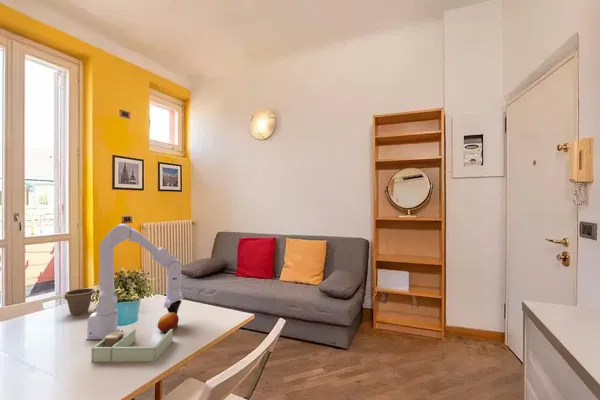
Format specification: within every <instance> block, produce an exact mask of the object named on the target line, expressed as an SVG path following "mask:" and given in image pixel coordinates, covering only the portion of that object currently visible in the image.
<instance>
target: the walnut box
mask: <svg viewBox="0 0 600 400" xmlns="http://www.w3.org/2000/svg"><path fill="white" fill-rule="evenodd" d="M123 337H124V332H123V331H121V332H111V333H110V334H108V335H107V336H106V337H105V338H104V339H105V346H104V347H112V346H113V345H114V344H116V343H117V342H118V341H119V340H121V339H122V338H123Z"/></svg>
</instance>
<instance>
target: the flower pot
mask: <svg viewBox="0 0 600 400" xmlns="http://www.w3.org/2000/svg"><path fill="white" fill-rule="evenodd" d="M95 292H96V291H95V289H94V288H89V287H88V288H78V289H73V290H69V291H67V292H64V300H66V302H67V305H68V309H69V314H70V315H73V316H77V315H78V316H79V315H83V314H86V313H88V311H89V309H90V305H91V302H92V299H91V295H92V294H93V293H94V294H95Z"/></svg>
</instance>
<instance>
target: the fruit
mask: <svg viewBox="0 0 600 400" xmlns="http://www.w3.org/2000/svg"><path fill="white" fill-rule="evenodd" d="M179 319H180V318H179V315H178V313H177V314H176V313H174V312H170V313H169V312H168V313H166V314H164V315H161V316H160V318H159V319H158V321H157V329H158V330H159V331H160V332H163V333H168V331H169V330H170V329H173V330H174V329H178V324H179Z"/></svg>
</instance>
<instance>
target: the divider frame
mask: <svg viewBox="0 0 600 400" xmlns="http://www.w3.org/2000/svg"><path fill="white" fill-rule="evenodd" d="M119 331H120V328H117V330H115V331H114V332H119ZM136 331H137V329H136V328H133V329H132V330H131V331H129V332H128V333H126V334H125V335H123V338H122V339H121V340H119V341H118V342H117V343H116V344H114V345H113V346H112V347H104V346H105V339H101V340H100V341H99V342H98V343H96V344H95V345H93V346H92V347H91V363H93V362H94V363H95V362H96V363H99V362H100V363H101V362H103V363H104V362H105V363H107V362H108V363H109V362H110V363H111V362H112V363H115V362H116V363H117V362H118V363H119V362H120V363H121V362H124V363H125V362H126V363H127V362H156V361H157V360H158V359H159V358H160V357H161V355H162V354H163V353H164V352H165V351H166V349H168V347H169V346H170V344H171V343H172V342H173V341H174V340H173V339H174V338H173V335H174V334H173V333H174V329H170V330H169V331H168V332H166V334H164V335H163V337H162V338H161V339H160V340H159V341H158V342H157V343H156V344H155V345H154V346H131V345H132V344H134V342H136Z"/></svg>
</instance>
